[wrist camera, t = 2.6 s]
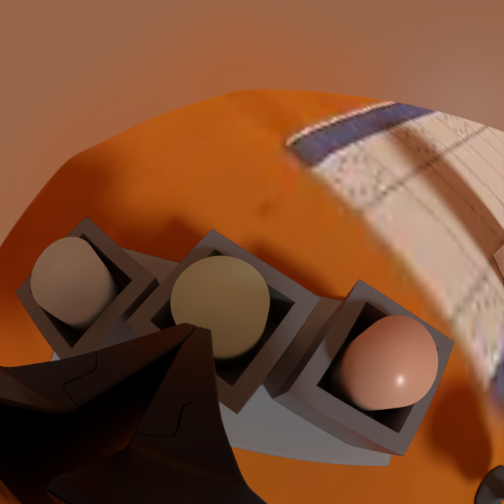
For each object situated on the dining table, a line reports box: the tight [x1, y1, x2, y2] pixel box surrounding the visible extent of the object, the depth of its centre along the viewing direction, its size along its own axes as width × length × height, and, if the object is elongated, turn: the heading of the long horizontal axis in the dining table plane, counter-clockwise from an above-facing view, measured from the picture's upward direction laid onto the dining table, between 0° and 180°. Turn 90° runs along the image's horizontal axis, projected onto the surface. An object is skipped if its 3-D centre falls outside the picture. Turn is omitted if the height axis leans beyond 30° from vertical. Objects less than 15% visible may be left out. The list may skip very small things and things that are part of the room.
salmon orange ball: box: [328, 315, 438, 411], centre depth 11 cm, size 4×4×4 cm
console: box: [16, 217, 454, 466], centre depth 15 cm, size 11×24×8 cm, turn 76°
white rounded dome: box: [31, 237, 123, 335], centre depth 13 cm, size 4×4×4 cm
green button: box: [171, 256, 270, 366], centre depth 13 cm, size 4×4×4 cm
